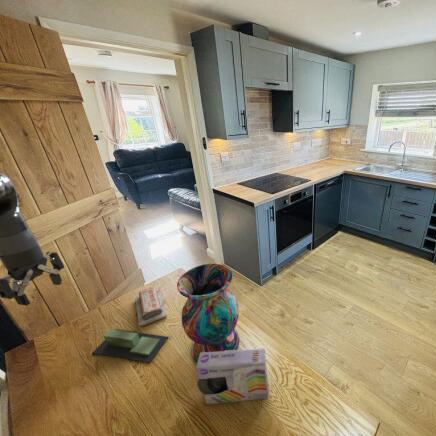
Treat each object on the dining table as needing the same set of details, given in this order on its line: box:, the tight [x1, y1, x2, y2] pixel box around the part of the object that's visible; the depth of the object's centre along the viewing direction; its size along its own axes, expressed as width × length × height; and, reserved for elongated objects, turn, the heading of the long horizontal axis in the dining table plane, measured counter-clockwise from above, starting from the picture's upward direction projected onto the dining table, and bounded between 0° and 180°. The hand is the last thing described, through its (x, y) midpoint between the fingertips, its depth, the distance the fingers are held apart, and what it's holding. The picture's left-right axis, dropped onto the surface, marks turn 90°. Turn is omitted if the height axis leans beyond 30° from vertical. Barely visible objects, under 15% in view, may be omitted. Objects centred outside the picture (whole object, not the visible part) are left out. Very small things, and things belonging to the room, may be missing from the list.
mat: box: [91, 328, 169, 364], centre depth 86 cm, size 22×10×1 cm, turn 82°
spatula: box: [103, 329, 160, 355], centre depth 85 cm, size 18×6×4 cm, turn 82°
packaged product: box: [134, 287, 168, 328], centre depth 101 cm, size 18×5×10 cm
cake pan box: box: [195, 347, 269, 405], centre depth 68 cm, size 19×5×18 cm, turn 94°
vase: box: [176, 263, 240, 363], centre depth 80 cm, size 18×18×30 cm
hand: (42, 293), depth 70 cm, fingers open, 8 cm apart
